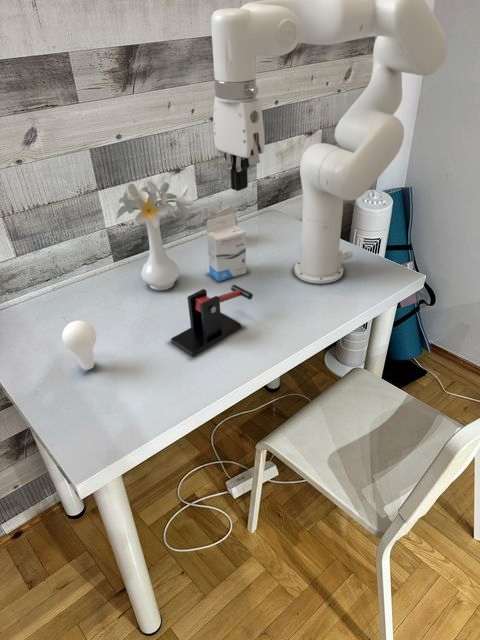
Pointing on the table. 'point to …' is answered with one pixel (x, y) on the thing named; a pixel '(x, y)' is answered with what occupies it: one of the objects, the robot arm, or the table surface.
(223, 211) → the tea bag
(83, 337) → the lightbulb
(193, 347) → the black lever base
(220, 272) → the ink box
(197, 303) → the red lever handle
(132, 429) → the table surface
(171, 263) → the flower vase
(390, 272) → the table surface
